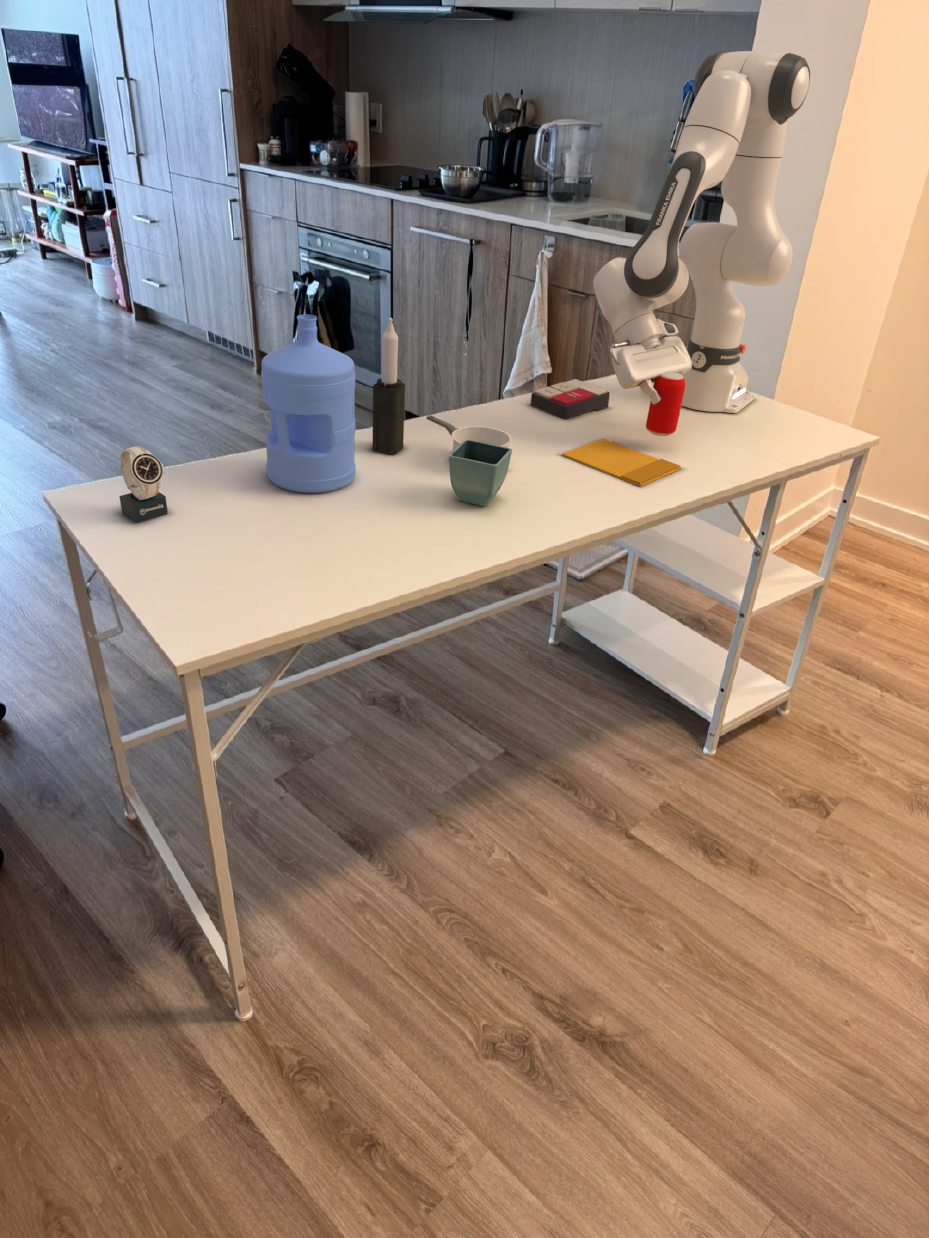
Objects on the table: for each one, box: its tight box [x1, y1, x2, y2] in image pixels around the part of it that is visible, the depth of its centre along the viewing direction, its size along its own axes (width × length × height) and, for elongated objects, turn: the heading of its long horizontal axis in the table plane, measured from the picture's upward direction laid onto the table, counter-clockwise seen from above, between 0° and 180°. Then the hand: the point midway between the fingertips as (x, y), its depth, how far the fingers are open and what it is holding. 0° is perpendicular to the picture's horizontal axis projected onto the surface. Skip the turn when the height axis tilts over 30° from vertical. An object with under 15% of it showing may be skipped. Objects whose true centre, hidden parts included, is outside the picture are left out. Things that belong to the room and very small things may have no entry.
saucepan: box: [425, 414, 513, 452], centre depth 166 cm, size 12×20×6 cm, turn 47°
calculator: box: [530, 378, 611, 420], centre depth 197 cm, size 11×4×15 cm
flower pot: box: [448, 439, 513, 507], centre depth 149 cm, size 9×9×9 cm
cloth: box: [561, 438, 682, 488], centre depth 171 cm, size 14×19×1 cm
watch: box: [119, 445, 169, 524], centre depth 135 cm, size 6×8×11 cm
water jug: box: [260, 313, 356, 494], centre depth 147 cm, size 16×16×28 cm
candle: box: [371, 317, 406, 456], centre depth 162 cm, size 5×5×25 cm
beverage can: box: [645, 372, 686, 437], centre depth 174 cm, size 6×6×12 cm
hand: (669, 399), depth 173 cm, fingers closed on beverage can, 6 cm apart
